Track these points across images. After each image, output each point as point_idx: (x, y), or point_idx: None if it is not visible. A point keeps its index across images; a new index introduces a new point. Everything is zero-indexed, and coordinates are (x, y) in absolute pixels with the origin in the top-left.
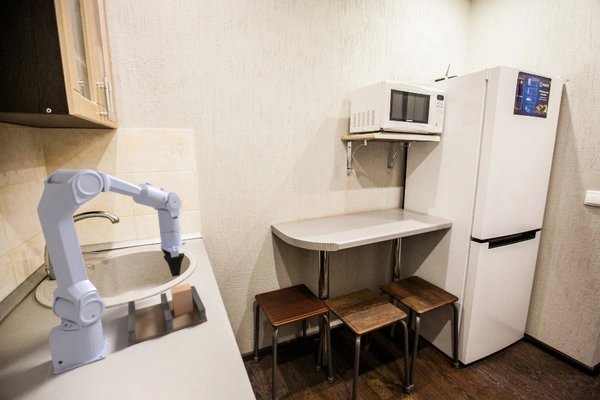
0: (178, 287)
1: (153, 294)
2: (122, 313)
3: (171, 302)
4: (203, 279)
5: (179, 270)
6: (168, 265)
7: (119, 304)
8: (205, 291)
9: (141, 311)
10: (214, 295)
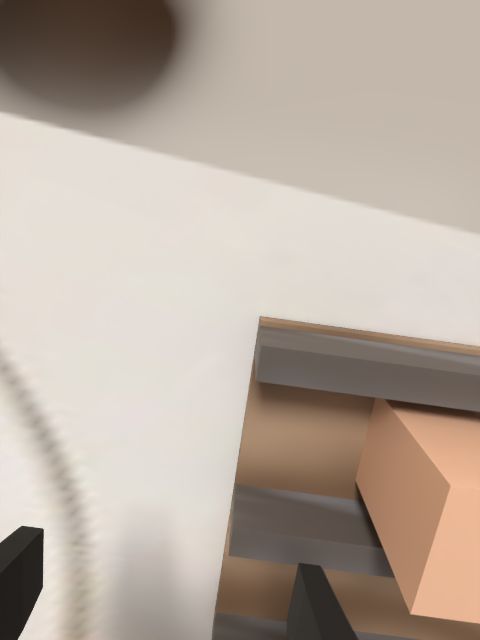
0: (457, 571)
1: (59, 498)
2: (178, 635)
3: (265, 466)
4: (19, 175)
5: (344, 624)
6: (23, 628)
7: (74, 633)
8: (229, 237)
9: (253, 595)
10: (331, 207)
